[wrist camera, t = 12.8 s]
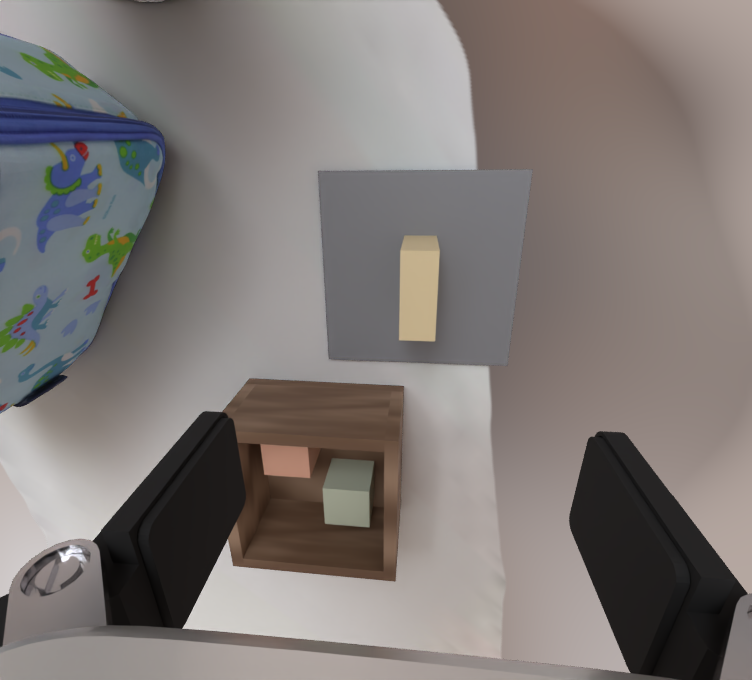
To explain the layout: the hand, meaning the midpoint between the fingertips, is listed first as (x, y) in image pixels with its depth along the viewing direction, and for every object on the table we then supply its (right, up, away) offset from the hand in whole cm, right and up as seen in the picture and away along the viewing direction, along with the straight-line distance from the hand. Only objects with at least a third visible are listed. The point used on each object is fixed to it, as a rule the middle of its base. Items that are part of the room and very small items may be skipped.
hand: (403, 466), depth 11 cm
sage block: (-3, -10, +28) cm, 30 cm away
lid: (+3, +9, +22) cm, 24 cm away
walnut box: (-5, -7, +29) cm, 30 cm away
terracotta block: (-8, -5, +27) cm, 29 cm away
